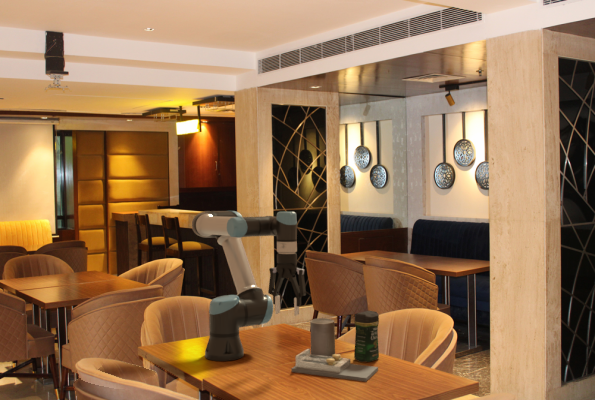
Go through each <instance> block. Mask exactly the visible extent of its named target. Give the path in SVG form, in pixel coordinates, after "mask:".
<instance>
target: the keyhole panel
mask: <svg viewBox="0 0 595 400" xmlns="http://www.w3.org/2000/svg"><path fill="white" fill-rule="evenodd" d="M328 358H332V357H330V356H322V355H313V354H311V348H306V349H304V350H303V351H301V352H300V353H298V354H297V355H295V366H296V368H304V369H311V370H319V371H327V372H334V373H341V372H342V371H343V370H345V369H346V368H347V367H348V366H350V364H351V358H347V357H341V358H339V361H335V362H334V363H333V366H332V365H328V363H327V362H326V359H328ZM333 359H334V358H333Z"/></svg>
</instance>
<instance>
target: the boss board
mask: <svg viewBox="0 0 595 400" xmlns="http://www.w3.org/2000/svg"><path fill="white" fill-rule="evenodd" d="M333 358H334V359H333ZM339 358H342V356H341V354H340V353H335V354H333V355H332V358H328V359H326V362H327V363H328V365H332V366H333V363H334V362H335V361H339ZM378 371H379V366H371V365H363V364H356V363H350V366H348V367H347V368H346V369H345V370H343V371H342V372H341V373H334V372H327V371H319V370H311V369H304V368H296V365H295V366H293V367H291V372H292V373H298V374H305V375H313V376H320V377H328V378H337V379H343V380H350V381H351V380H352V381H359V382H365V383H367V382H368V381H367V380H370V379H371V378H372V377H373V376H374V375H375V374H376V373H377V372H378Z"/></svg>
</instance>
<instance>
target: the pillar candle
mask: <svg viewBox="0 0 595 400" xmlns="http://www.w3.org/2000/svg"><path fill="white" fill-rule="evenodd" d="M309 322H310V354H313V355H322V356H330V357H332V355H333V354H336V333H335V332H336V331H335V330H336V329H335V328H336V327H335V320H334V319H333V318H326V317H325V318H324V317H321V318H313V319H311V320H310V321H309Z"/></svg>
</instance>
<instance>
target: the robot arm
mask: <svg viewBox="0 0 595 400" xmlns="http://www.w3.org/2000/svg"><path fill="white" fill-rule="evenodd" d="M191 228H192V231H193V233H194V234H195V235H197V236H199V237H201V238H212V239H213V238H215V239H216V241H217V243H218V245H220V246H222V249H223V252H224V254H225V255H224V256H225V258H226V261H227V264H228V268H229V270H230V274H231V277H232V280H233V284H234V286H235V289H236V293H237V294H228V295H227V294H225V295H220V296H217V297H215V298H212V299H211V300H210V302H209V311H208V315H209V318H208V319H209V322H208V323H209V337H208V340H207V345H206V347H205V352H204V358H206V359H207V360H210V361H215V362H228V361H235V360H239V359H241V358H244V357H245V356H244V355H245V354H244V352H245V350H244V346H243V344H242V341H241V337H240V328H244V327H253V326H260V325H263V324H267V323H269V322H270V321H271V320H272V316H273V313H275V315H278V314H280V313H281V295H279V293H280V290H281V287H282V284H283V281H284V280H285V278H286V279H289V281H290V282H291V287H292V288H293V292H294V294H295V297H294V298H293V304H294V305H293V306H294V308H293V311H294V313H293V315H294V316H299V315H300V307H301V306H302V297H304V296H306V295H307V291H306V282H305V281H306V280H305V271H306V270H305V269H304V268H300V267H298V265H297V264H298V255H297V252H298V243H297V239H298V238H297V237H298V236H297V235H298V221H297V212H295V211H277V213H276V216H275V215H273V216H272V215H266V216H265V215H264V216H243V215H242V214H241V213H240V212H238V211H235V210H229V209H228V210H211V211H210V210H204V211H201V212H199V213H198V214H196V215H195V216H194V217H193V219H192V220H191ZM269 236H270V237H273V236H274V237H276V252H277V254H276V267H270V268H269V281H268V282H269V284H268V289H267V290H268V294H265V293H264V292H263V291H264V290H263V289H262V288H261V287H259V286H258V285H257V282H256V279H255V276H254V274H253V273H254V272H253V270H252V267H251V264H250V261H249V258H248V256H247V253H246V249H245V247H244V244H243V241H242V239H243V238H247V237H249V238H250V237H269ZM277 273H278V275H277ZM296 273H297V275H298V276H297V275H296ZM276 276H277V277H276ZM297 277H298V280H297ZM276 278H277V281H276ZM270 295H272V297H271V296H270Z"/></svg>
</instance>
